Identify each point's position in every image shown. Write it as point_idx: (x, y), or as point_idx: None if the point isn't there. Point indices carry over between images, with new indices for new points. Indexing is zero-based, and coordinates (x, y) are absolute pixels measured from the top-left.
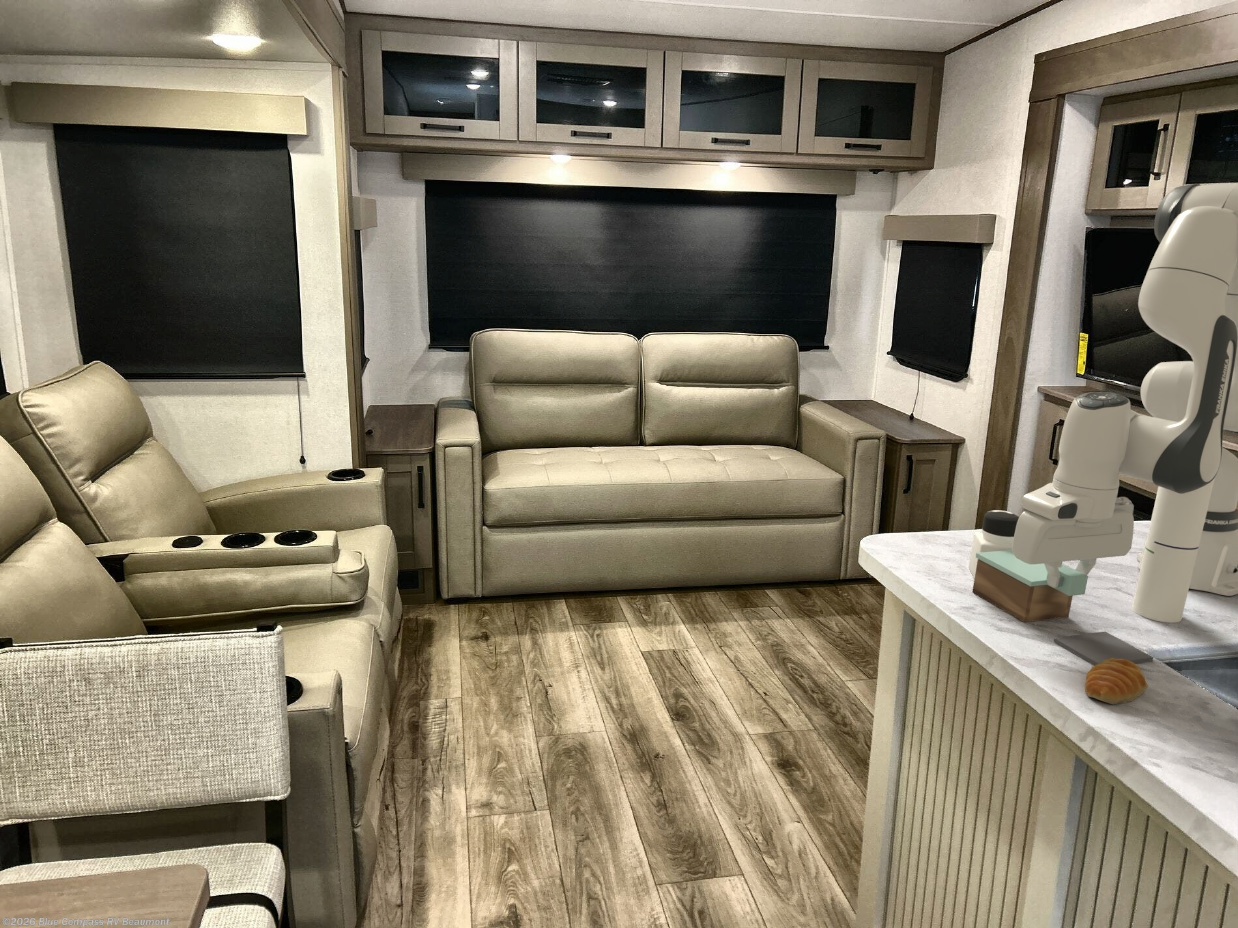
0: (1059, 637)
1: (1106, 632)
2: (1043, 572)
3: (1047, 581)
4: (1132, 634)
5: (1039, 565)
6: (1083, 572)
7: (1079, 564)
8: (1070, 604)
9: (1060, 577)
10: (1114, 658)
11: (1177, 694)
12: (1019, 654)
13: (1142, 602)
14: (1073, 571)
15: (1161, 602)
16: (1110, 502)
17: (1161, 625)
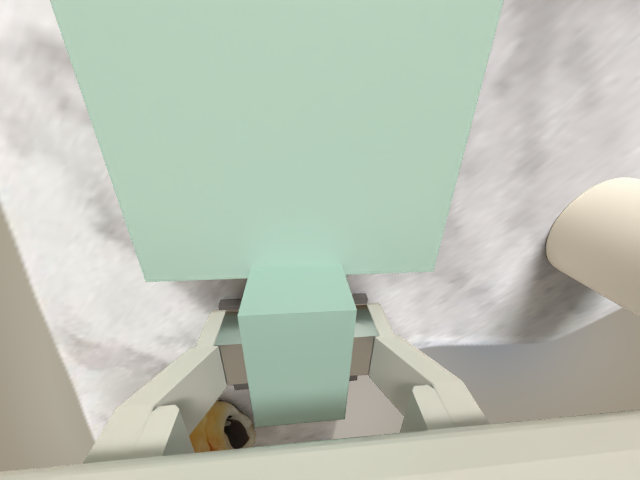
0: (233, 305)
1: (365, 302)
2: (302, 194)
3: (209, 317)
4: (426, 298)
5: (371, 88)
6: (374, 377)
7: (404, 368)
8: None
9: (228, 383)
10: (219, 445)
11: (296, 434)
12: (98, 332)
13: (584, 243)
14: (323, 380)
15: (595, 286)
16: None
17: (529, 277)
